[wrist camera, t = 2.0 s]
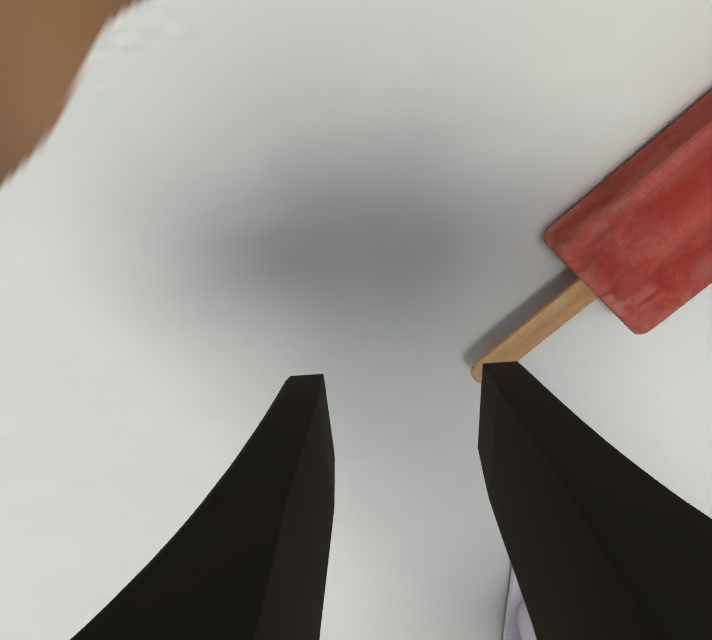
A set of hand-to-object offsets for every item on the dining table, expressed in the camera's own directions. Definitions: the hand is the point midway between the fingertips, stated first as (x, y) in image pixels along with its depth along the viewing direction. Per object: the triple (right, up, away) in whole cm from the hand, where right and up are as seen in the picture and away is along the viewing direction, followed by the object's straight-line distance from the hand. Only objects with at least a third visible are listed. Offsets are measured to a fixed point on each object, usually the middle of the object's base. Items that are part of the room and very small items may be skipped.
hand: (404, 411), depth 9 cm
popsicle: (+8, +5, +7) cm, 12 cm away
